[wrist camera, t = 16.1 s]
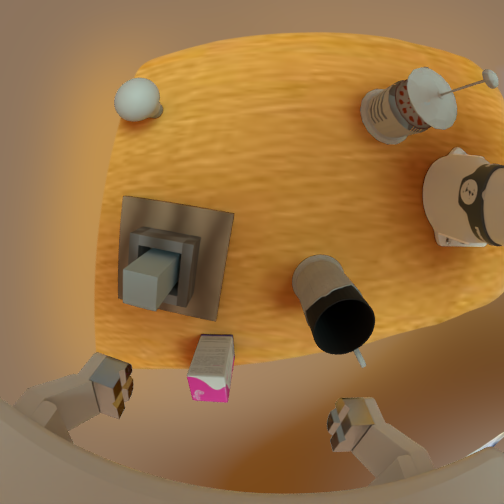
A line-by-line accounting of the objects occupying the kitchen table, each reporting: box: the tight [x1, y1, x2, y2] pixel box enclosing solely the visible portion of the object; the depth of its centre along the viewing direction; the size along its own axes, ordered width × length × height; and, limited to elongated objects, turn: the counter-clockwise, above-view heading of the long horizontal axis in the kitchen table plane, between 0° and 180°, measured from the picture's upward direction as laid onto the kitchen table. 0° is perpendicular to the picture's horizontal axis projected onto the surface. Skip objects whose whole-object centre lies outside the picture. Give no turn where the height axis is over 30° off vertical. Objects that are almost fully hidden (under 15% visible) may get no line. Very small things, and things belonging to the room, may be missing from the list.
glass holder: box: [292, 255, 375, 368], centre depth 36 cm, size 9×14×15 cm, turn 31°
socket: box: [118, 196, 234, 321], centre depth 40 cm, size 18×18×6 cm
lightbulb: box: [114, 78, 163, 122], centre depth 31 cm, size 6×6×11 cm
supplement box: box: [187, 334, 235, 402], centre depth 41 cm, size 6×6×12 cm
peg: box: [123, 248, 182, 311], centre depth 36 cm, size 4×4×12 cm
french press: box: [360, 67, 498, 144], centre depth 23 cm, size 10×12×25 cm
